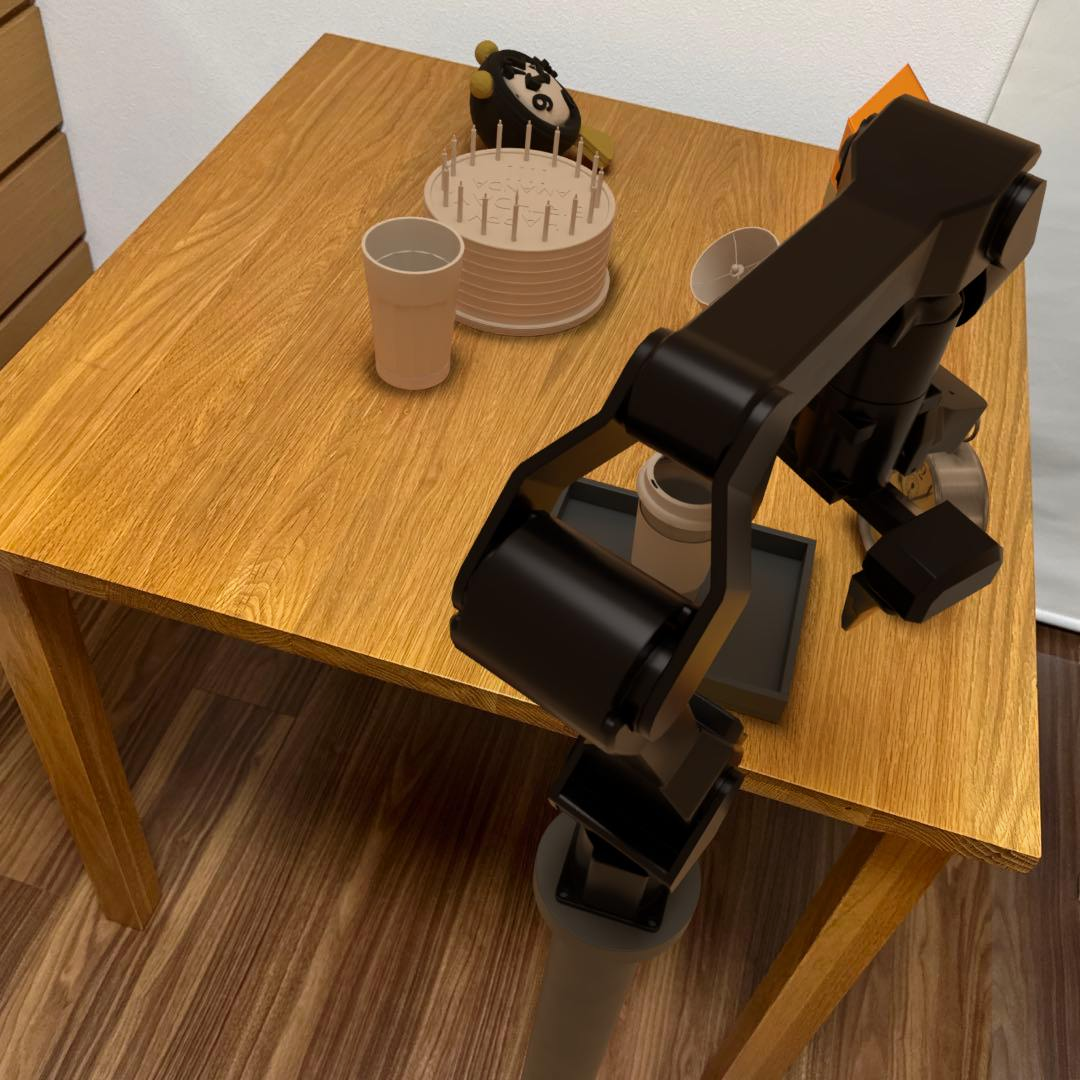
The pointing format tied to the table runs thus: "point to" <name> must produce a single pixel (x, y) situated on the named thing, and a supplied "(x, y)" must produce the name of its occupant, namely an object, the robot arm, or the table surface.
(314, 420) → the table surface
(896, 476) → the alarm clock
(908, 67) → the orange juice
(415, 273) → the cup
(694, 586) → the cup
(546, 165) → the cake
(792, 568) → the tray
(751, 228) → the light fixture
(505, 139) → the alarm clock
